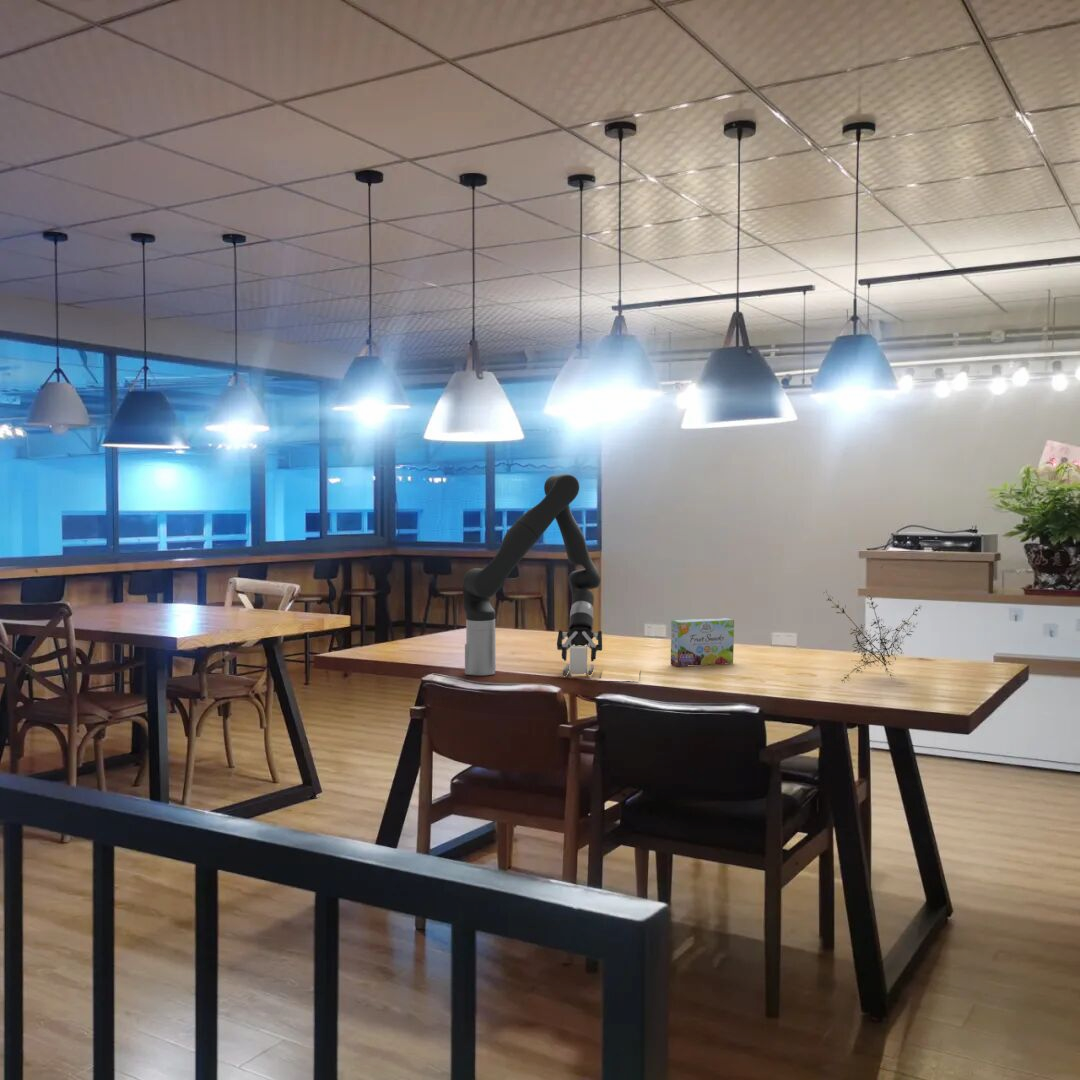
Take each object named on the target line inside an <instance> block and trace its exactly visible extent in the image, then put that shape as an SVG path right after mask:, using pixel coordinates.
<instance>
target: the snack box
mask: <svg viewBox="0 0 1080 1080" xmlns="http://www.w3.org/2000/svg"><path fill="white" fill-rule="evenodd" d="M670 626H671V627H670V629H671V631H670V665H671V666H674V665H675V666H674V667H676V666H684V667H689V666H688V665H702V666H709V665H708V664H717V665H726V664H725V663H732V664H734V650H735V649H734V645H735V644H734V641H735V640H734V639H735V637H734V636H735V619H733V618H732V619H731V618H728V617H722V618H721V617H720V618H715V617H714V618H697V619H696V618H692V619H676V620H675V619H673V620H671V623H670Z"/></svg>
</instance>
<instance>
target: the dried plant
mask: <svg viewBox="0 0 1080 1080" xmlns="http://www.w3.org/2000/svg"><path fill="white" fill-rule="evenodd" d="M822 593H823V595H824V594H825V593H826V594H827V596H828V597H827V599H826V601H830V602H831V603H833V604H834V606H831V608H835V609H840V612H839V611H836V612H835V613H836V614H845V615H846V617H847V618H848V619H849V621H851V623H852V624H853V625H854V626H855V629H852V630H851V631H849V632H851V633H849V635H854V636H855V639H856V640H855V641H854V642H855V643H853V644H852V647H853V648H855V649H854V650H853V651H852V652H857V653H858V654H860V652H861V654H860V655H861V656H860V657H861V658H859V661H858V662H856V660H852V659H851V660H850V661H851V662H853V661H854V662H856V663H855V664H854V666H855V667H856V668H852V669H851V672H850V673H848V674H843V679H840V680H841V681H840V682H841V683H843V684H845V683H846V682H845V679H846V680H847V682H850V680H849V679H851V677H850V676H849V675H850V674H853V672H854V671H855V672H856V673H857V674H858V672H859V673H860V674H862V673H863V668H861V667H864V670H865V669H866V666H868V667H872V664H874V665H876V666H877V667H879V665H878V664H880V662H881V663H882V665H881V667H884V668H885V669H884V670H885V672H886V675H889V676H890V678H891V680H895V678H893V677H896V676H895V675H892V674H894V673H893V672H894V670H893V669H891V671H890V670H889V669H888V668H887V666H893V665H894V664H895V663H894V662H893V661H891V660H886V658H885V657H888V658H890V657H891V656H892V657H894V660H895V661H896V660H897V659H896V656H897V657H898V654H897V653H896V652H900V655H903V656H904V653H903V650H902V648H901V647H900V646H901V644H902V645H903V642H902V641H904V638H905V637H906V636H908V637H910V636H912V634H911V633H914V631H913V630H912V629H913V628H915V629H917V627H916V625H918V622H916V623H915V624H912V623H914V621H911V622H910V621H909V620H910V619H911V618H912V616H916V617H918V612H919V610H922V609H921V608H922V607H923V606H922V605H921V604H918V605H919V606H918V607H917V606H916V607H915V609H913V613H912V615H911V616H910V617H909V618H908V619H907V620H904V619H902V620H901V622H902V624H901V625H898V626H897V627H896V628H895V629H892V628H893V627H891V628H890V626H888V627H887V628H886V625H883V624H884V620H885V619H883V618H881V619H880V616H878V617H877V613H876V610H875V609H876V608H877V607H878V606H879V604H876V605H875V606H873V605H874V604H875V602H874V601H872V600H873V599H875V596H874V597H873V596H870V597H869V596H867V597H866V598H867V599H868V600H870V602H868V601H867V602H866V604H868V607H869V608H870V609H873V611H874V615H875V617H876V620H875V618H873V619H872V621H873V622H872V623H871V625H870V627H873V626H874V625H876V626H874V627H873V628H874V629H878V630H879V633H877V632H876V630H874V633H875V634H874V635H873V636H870V633H869V632H871V629H870V630H869V632H868V629H866V630H865V631H864V628H865V625H866V624H865V623H864V625H863V624H862V623H861V624H860V627H858V626H857V625H856V623H855V622H854V621H853V620H852V619H851V618H850V617H849V615H847V613H846V611H845V609H846V607H847V606H846V604H845V606H844V607H842V608H840V605H839V604H837V605H836V603H834V602H833V601H832V600H833V599H834V597H833V596H831V595H830V596H829V594H828V592H827V589H825V591H823V592H822ZM831 598H832V599H831ZM837 601H838V603H840V601H839V600H837ZM844 608H845V609H844ZM915 612H916V613H915ZM880 622H882V623H880ZM879 623H880V624H879ZM905 625H906V626H907V628H908V629H907V631H906V629H905V628H904V626H905ZM911 626H912V627H911ZM888 628H889V629H888ZM857 629H858V630H857ZM884 630H885V631H884ZM908 630H909V631H908ZM883 631H884V632H883ZM893 631H895V632H893ZM901 631H902V632H903V633H904V632H905V633H906V634H905V635H903V636H900V635H899V633H901ZM890 632H892V634H893V636H892V635H890V636H891V638H890V639H887V638H886V637H887V636H888V634H889V633H890ZM909 632H910V633H909ZM876 634H877V635H878V637H876ZM860 635H862V636H863V637H862V638H861V641H860V640H859V638H858V637H859V636H860ZM865 635H866V636H865ZM900 638H901V641H899V640H900ZM863 639H865V640H863ZM862 640H863V641H862ZM875 641H876V642H878V644H879V648H880V649H878V647H876V646H875V645H874V644H873V643H874V642H875ZM889 642H890V643H891V644H890V645H889ZM854 645H856V646H854ZM867 645H868V646H867ZM865 646H866V647H865ZM864 647H865V648H864ZM868 647H870V649H868ZM874 649H876V651H874ZM898 649H899V650H898ZM888 651H889V652H888ZM867 652H868V653H867ZM893 652H894V654H893ZM866 653H867V654H866ZM878 655H879V656H878ZM871 658H873V660H871ZM876 662H877V663H878V664H876ZM857 664H860V665H857ZM881 669H882V668H880V670H881ZM892 671H893V672H892ZM892 676H893V677H892Z"/></svg>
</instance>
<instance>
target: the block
mask: <svg viewBox="0 0 1080 1080" xmlns="http://www.w3.org/2000/svg"><path fill="white" fill-rule="evenodd" d="M584 673H587V674H588V646H587V645H585V646H581V645H578V646H575V645H573V646H571V647H570V648H569V675H570V674H584Z"/></svg>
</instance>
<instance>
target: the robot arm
mask: <svg viewBox="0 0 1080 1080" xmlns="http://www.w3.org/2000/svg"><path fill="white" fill-rule="evenodd" d="M543 488H544V490H543V491H544V494H545V497H543V498H542V500H541V501H540V502H538V504H536V505H535V506H533V507H532V508H530V509H529V510H528V511H526V512H524V513H523V514H522V515H521V516H520V517H519V518H518V519H517V520H516V521H515V522H514V523H513V525H511V526H510V528H509V529H508V530H507V531H506V533H505V534H504V535H503V538H502V542H501V544H500V547H499V550H498V552H497V554H496V555H495V556H494V557H493V559H492V560H491V561H490V562H488V564H487V565H485V566H484V568H480V567H474V568H471V569H469V570H468V571H467V572H466V573H465V575H464V577H463V580H462V600H463V610H464V612H465V624H466V628H465V634H466V635H465V637H466V643H464V674H465V675H469V676H490V675H491V676H492V675H495V674H496V673H495V671H496V669H497V666H496V665H497V664H496V661H497V659H496V656H497V655H496V610H495V609H494V608H493V606H492V604H491V600H490V599H491V598H492V597H493V596H495V595H496V593H498V591H499V590H500V589H501V587H502V585H503V584H504V582H505V581H506V580H507V578H508V577H509V575H510V573H511V572H512V571H513V569H515V567H516V566H517V565H518V564H519V562H521V560H522V559H523V558H524V556H526V555H527V553H529V551H530V549H531V548H532V547H533V546H535V544H536V542H537V541H538V540H539V539H540V537H542V535H543V534H544V533H545V532H546V531H547V529H548V528H549V527H550V526H551V524H552V523H553V521H554V520H556V523H557V526H558V529H559V531H560V534H561V537H562V542H563V544H564V549H565V552H566V556H567V560H568V562H569V563H570V564H571V565H579V566H582V567H583V569H582V568H581V569H577V570H574V571H571V572H570V574H569V575H568V578H567V579H568V580H567V581H568V584H569V588H570V592H571V606H570V607H571V609H570V612H569V613H570V614H569V625H568V631H567V632H563V631H562V630H558V635H557V641H556V648H557V650H558V651H561V659H562V660H563V662H564V661H565V662H566V661H567V656H568V655H567V654H568V650H570V647H571V646H587V648H588V649H590V662H594V660H596V659H597V652H598V651H599V652H601V651H602V650H603V633H602V631H601V630H599V631H597V632H593V630H594V627H593V626H594V598H595V597H594V594H593V592H592V591H591V590H594V589H597V588H599V586H600V585H601V576H600V572H599V570H598V569H597V567H596V566H595V564H594V562H593V560H592V558H591V556H590V554H589V550H588V546H587V542H586V539H585V537H584V534H583V531H582V530H581V527H580V526H579V524H578V523H577V521H576V519H575V518H574V515H573V513H572V509H571V507H570V504H571V503H572V502H573V501H574V500H575V499H576V497H577V496H578V495H579V492H580V482H579V480H578V478H577V477H576V476H574V475H573V474H569V473H567V474H566V473H561V474H554V475H551V476H549V477H547V478H546V481H545V482H544V486H543ZM565 638H567V639H566V641H564V643H563V640H565ZM594 638H595V640H597V644H596V643H595V642H594V641H593V639H594Z"/></svg>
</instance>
